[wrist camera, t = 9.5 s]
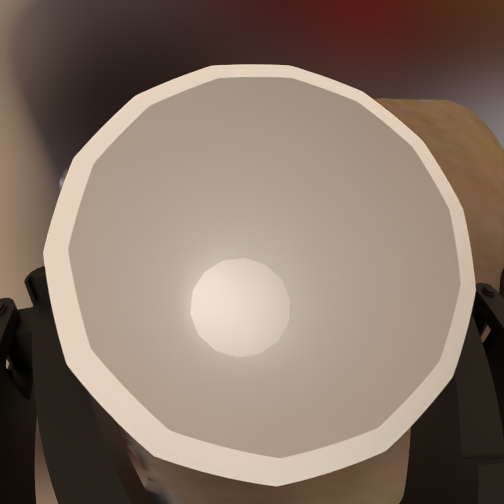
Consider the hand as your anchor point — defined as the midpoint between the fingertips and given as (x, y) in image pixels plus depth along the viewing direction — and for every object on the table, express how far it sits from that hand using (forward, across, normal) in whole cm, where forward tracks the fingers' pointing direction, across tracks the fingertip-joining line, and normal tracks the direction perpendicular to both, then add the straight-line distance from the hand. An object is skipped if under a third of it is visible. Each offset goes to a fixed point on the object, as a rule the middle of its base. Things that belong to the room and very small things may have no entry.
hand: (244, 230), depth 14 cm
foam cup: (+1, 0, -6) cm, 6 cm away
